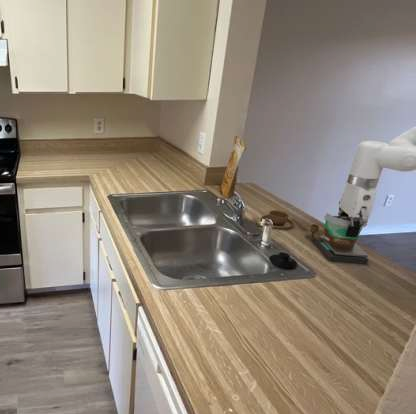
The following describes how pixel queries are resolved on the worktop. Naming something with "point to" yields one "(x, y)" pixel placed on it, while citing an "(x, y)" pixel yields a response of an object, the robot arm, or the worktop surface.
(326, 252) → the scale
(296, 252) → the worktop surface
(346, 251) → the pan
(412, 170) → the robot arm
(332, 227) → the food container
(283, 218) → the place setting
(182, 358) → the worktop surface
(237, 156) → the pancake mix bag
